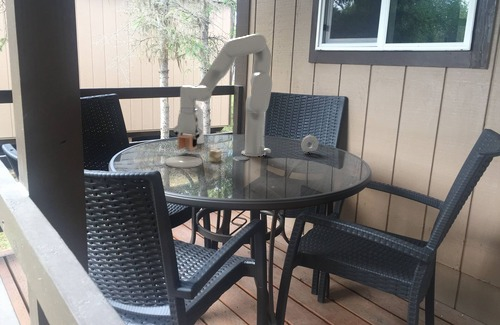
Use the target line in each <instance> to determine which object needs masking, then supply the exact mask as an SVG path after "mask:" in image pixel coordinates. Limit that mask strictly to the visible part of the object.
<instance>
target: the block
mask: <svg viewBox="0 0 500 325" xmlns="http://www.w3.org/2000/svg"><path fill="white" fill-rule="evenodd" d="M208 152H209V159H208V160H209V161H208V162H212V163H213V162H214V163H219V162H221V161H222V150H220V149H211V150H209V151H208Z"/></svg>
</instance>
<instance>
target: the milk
mask: <svg viewBox="0 0 500 325" xmlns="http://www.w3.org/2000/svg"><path fill="white" fill-rule="evenodd" d="M196 109H198V112H196V113H195V114H197V116H198V124H199V128H200V129H201V130H202V131H203V133H202V134H201V135H200V136H199V137H198V139H197V145H198V144H204V143H205V138H204V137H205V134H204V110H203V109H202V108H201V107H200V106H199V104H198V103H197V102H196ZM179 113H180V109H179ZM198 133H199V132H198ZM198 133H197V134H198ZM183 134H186V133H183ZM191 135H192V134H191Z"/></svg>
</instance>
